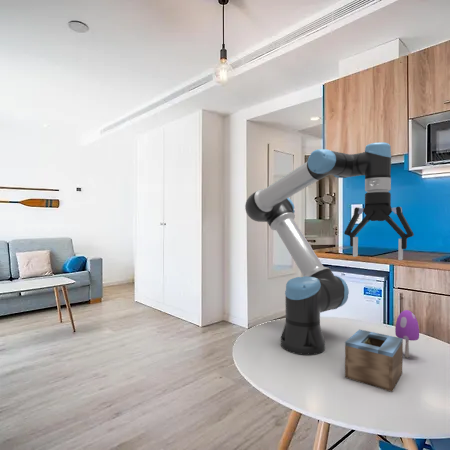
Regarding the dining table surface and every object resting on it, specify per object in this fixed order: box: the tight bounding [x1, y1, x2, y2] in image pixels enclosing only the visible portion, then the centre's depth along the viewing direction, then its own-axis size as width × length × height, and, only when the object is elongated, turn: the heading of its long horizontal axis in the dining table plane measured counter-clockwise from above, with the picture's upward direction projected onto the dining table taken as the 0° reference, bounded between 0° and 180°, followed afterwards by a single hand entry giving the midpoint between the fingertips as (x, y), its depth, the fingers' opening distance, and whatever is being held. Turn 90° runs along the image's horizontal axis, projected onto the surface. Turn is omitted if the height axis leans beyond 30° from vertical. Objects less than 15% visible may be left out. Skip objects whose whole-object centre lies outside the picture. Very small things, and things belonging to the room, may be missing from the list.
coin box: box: [344, 329, 404, 392], centre depth 92 cm, size 12×13×10 cm
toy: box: [394, 309, 420, 358], centre depth 103 cm, size 7×7×15 cm
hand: (377, 258), depth 104 cm, fingers open, 13 cm apart
